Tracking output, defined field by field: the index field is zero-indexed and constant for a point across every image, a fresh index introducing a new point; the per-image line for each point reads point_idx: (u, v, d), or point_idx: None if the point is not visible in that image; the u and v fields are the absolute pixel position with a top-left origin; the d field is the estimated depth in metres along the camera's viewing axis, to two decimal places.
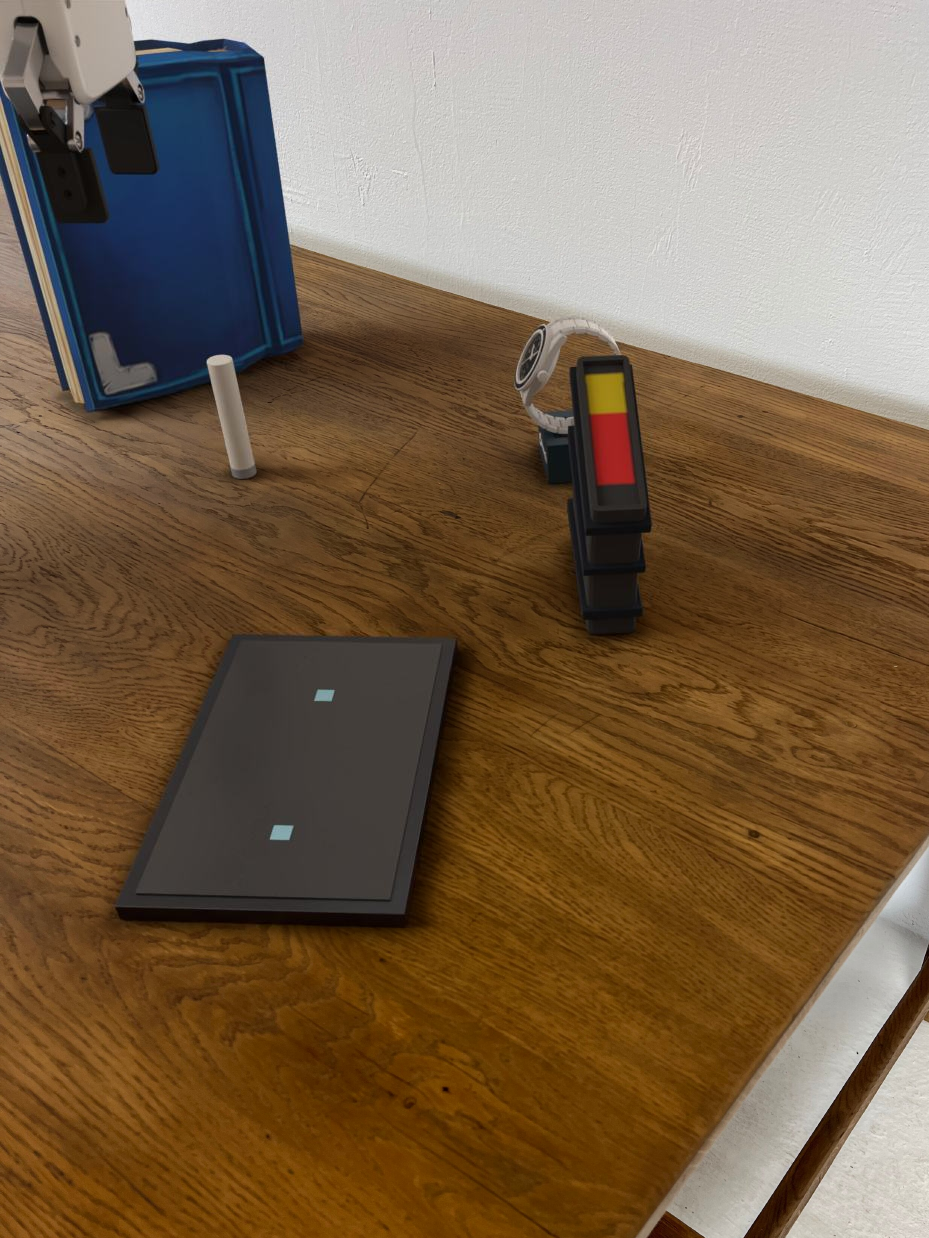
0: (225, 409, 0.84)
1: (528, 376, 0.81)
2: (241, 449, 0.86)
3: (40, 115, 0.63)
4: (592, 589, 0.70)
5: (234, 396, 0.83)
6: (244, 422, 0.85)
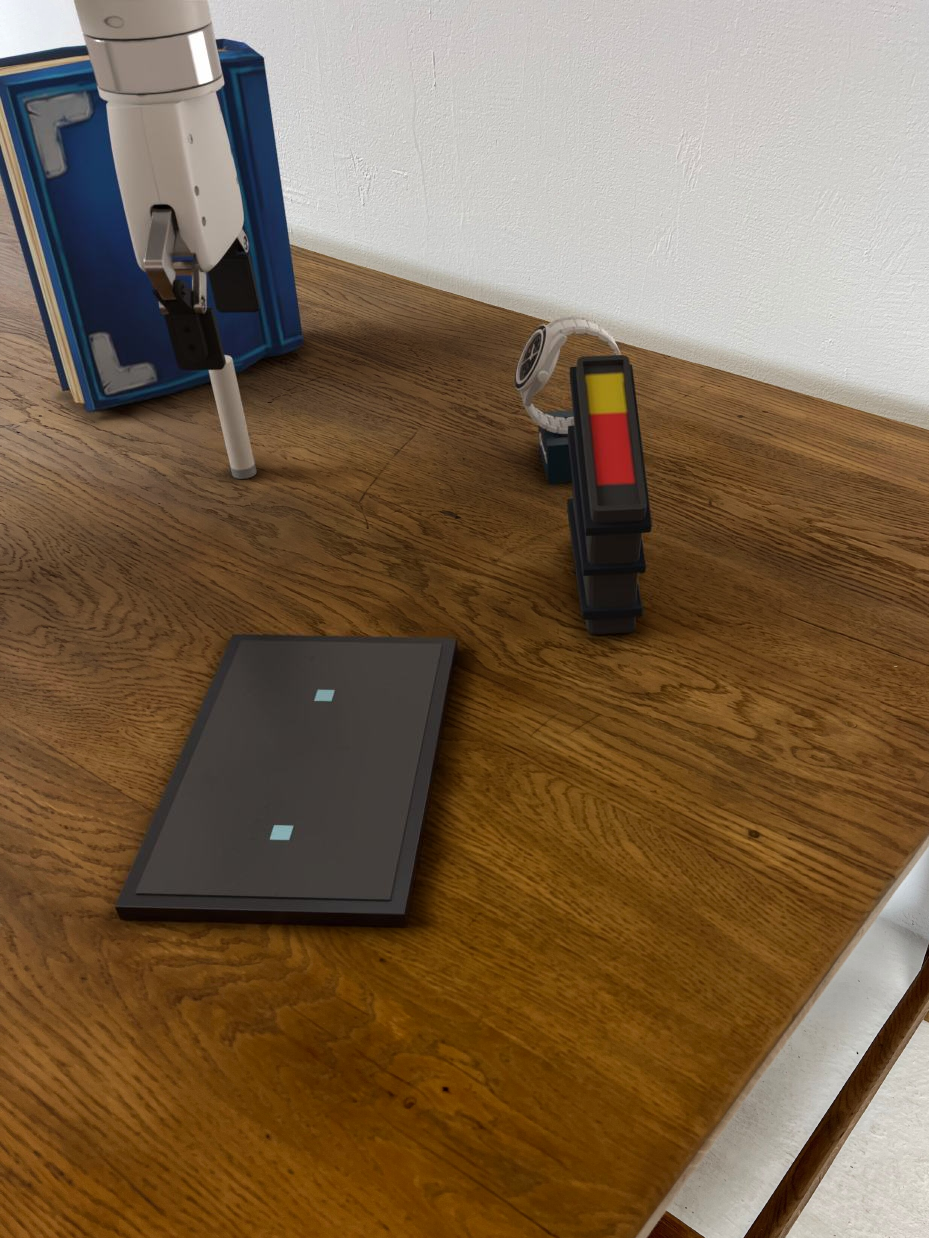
0: (225, 409, 0.84)
1: (528, 376, 0.81)
2: (241, 449, 0.86)
3: (173, 288, 0.71)
4: (592, 589, 0.70)
5: (234, 396, 0.83)
6: (244, 422, 0.85)
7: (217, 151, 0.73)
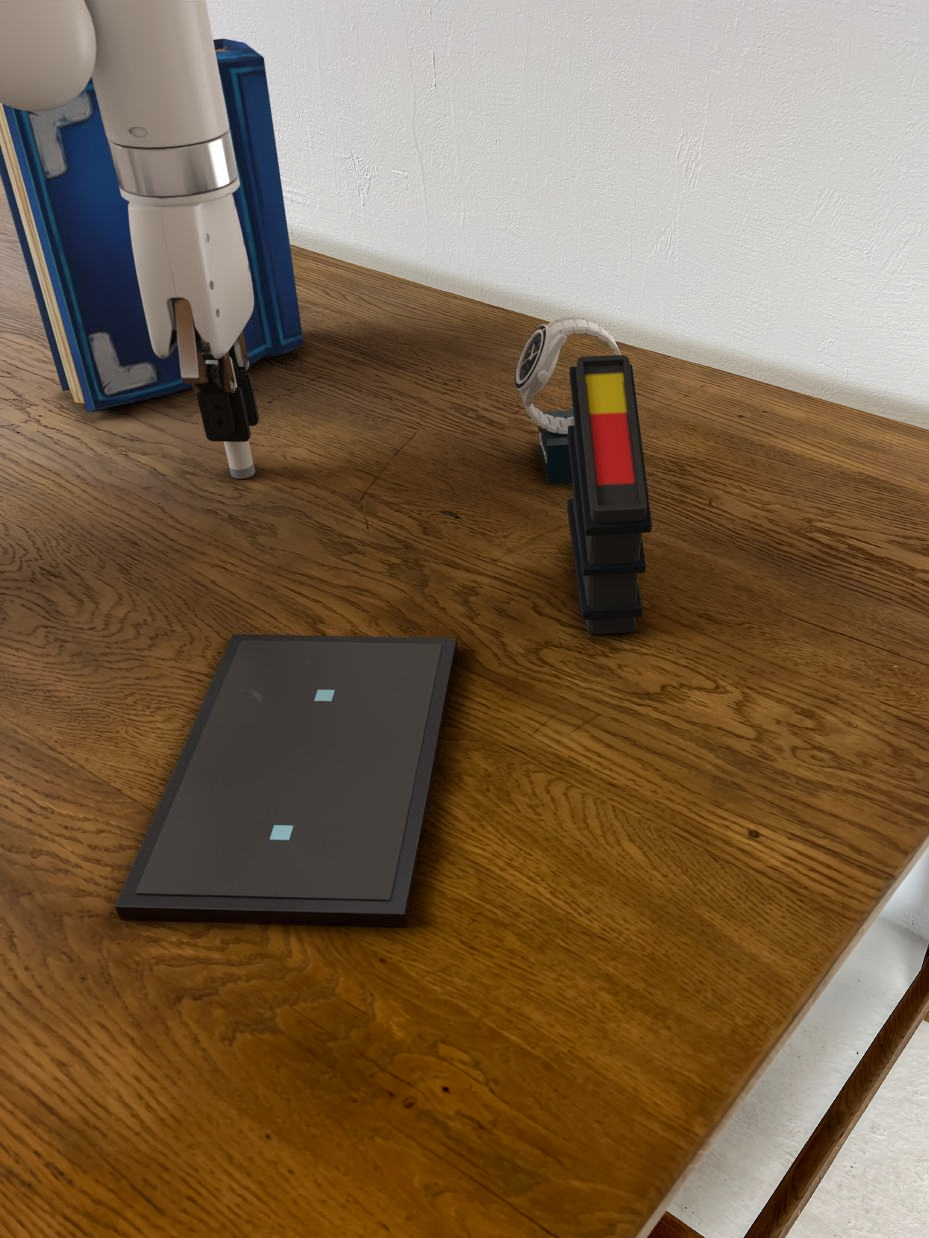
0: None
1: (528, 376, 0.81)
2: (240, 449, 0.86)
3: None
4: (592, 589, 0.70)
5: None
6: None
7: (231, 245, 0.77)
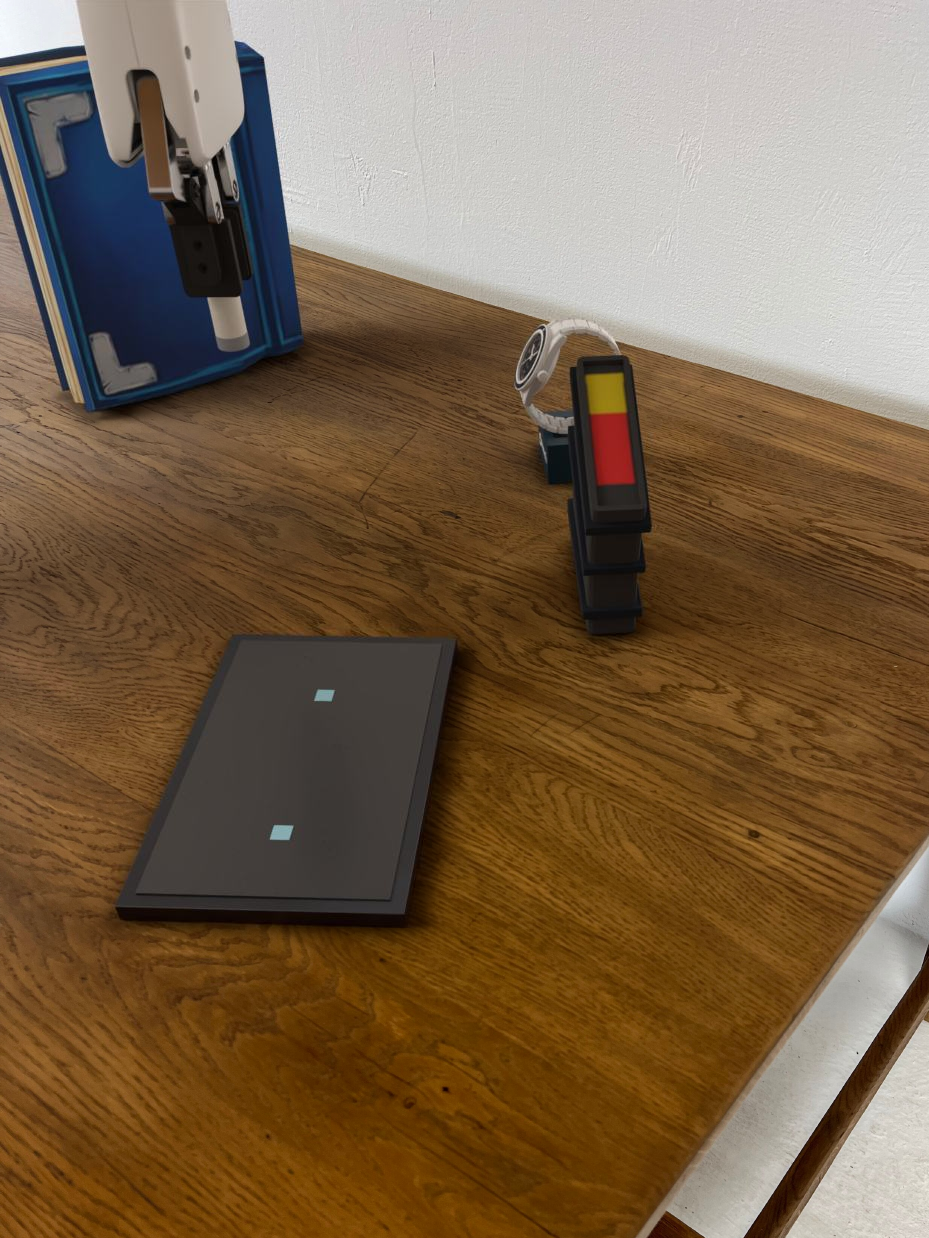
0: None
1: (528, 376, 0.81)
2: (229, 309, 0.65)
3: None
4: (592, 589, 0.70)
5: None
6: None
7: (213, 8, 0.56)
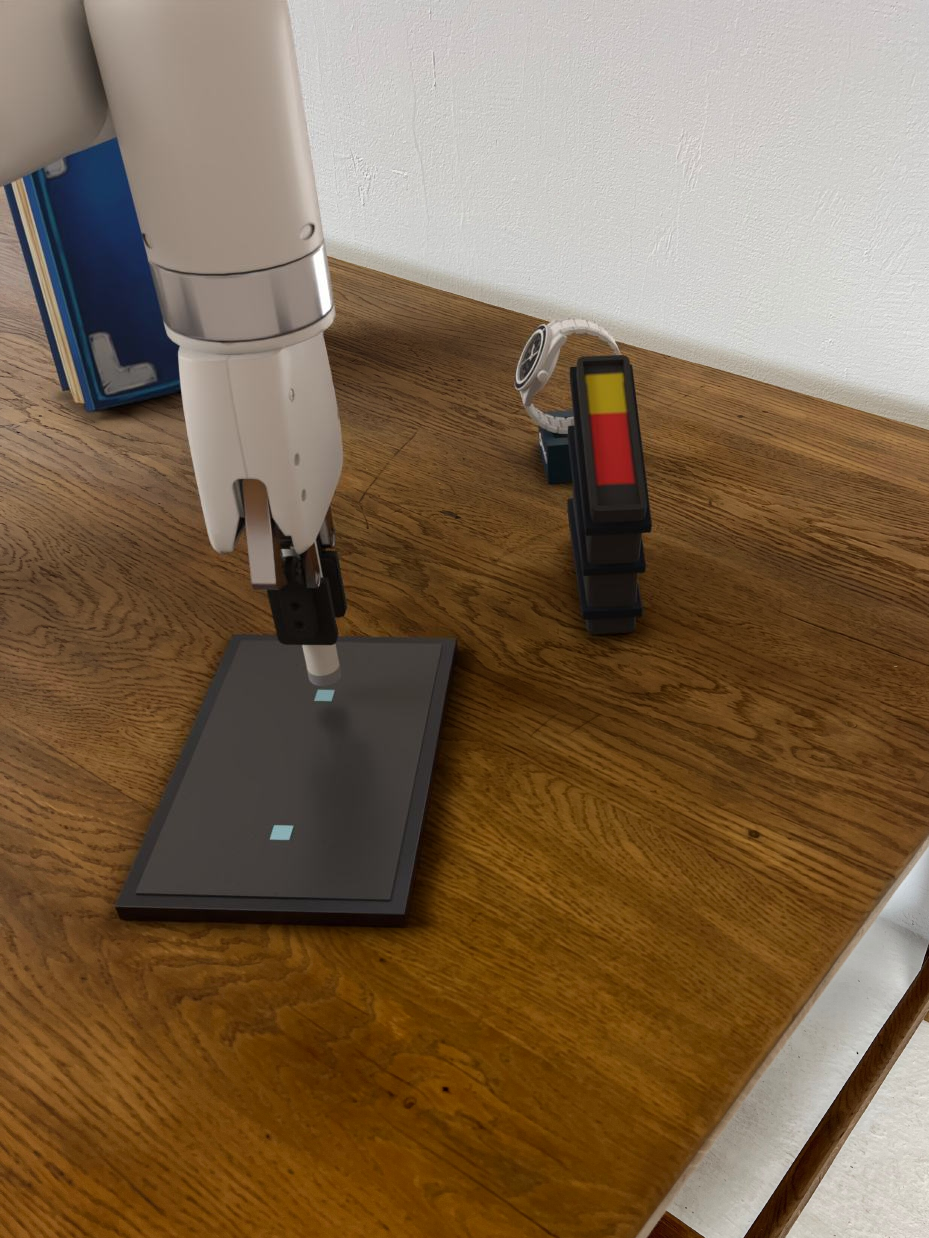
0: None
1: (528, 376, 0.81)
2: (323, 651, 0.63)
3: None
4: (592, 589, 0.70)
5: None
6: None
7: (320, 395, 0.54)
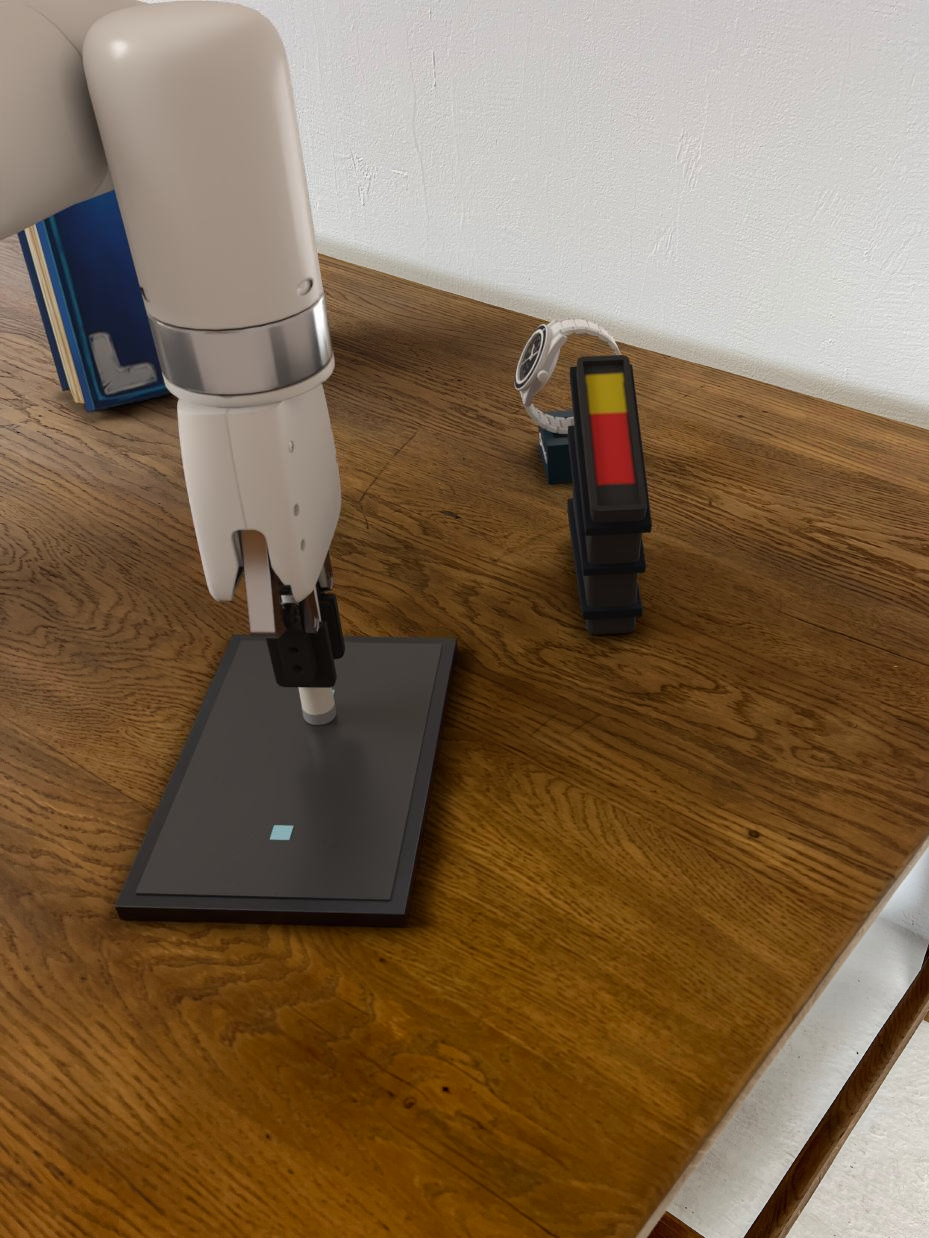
0: None
1: (528, 376, 0.81)
2: (319, 690, 0.63)
3: None
4: (592, 589, 0.70)
5: None
6: None
7: (319, 443, 0.54)
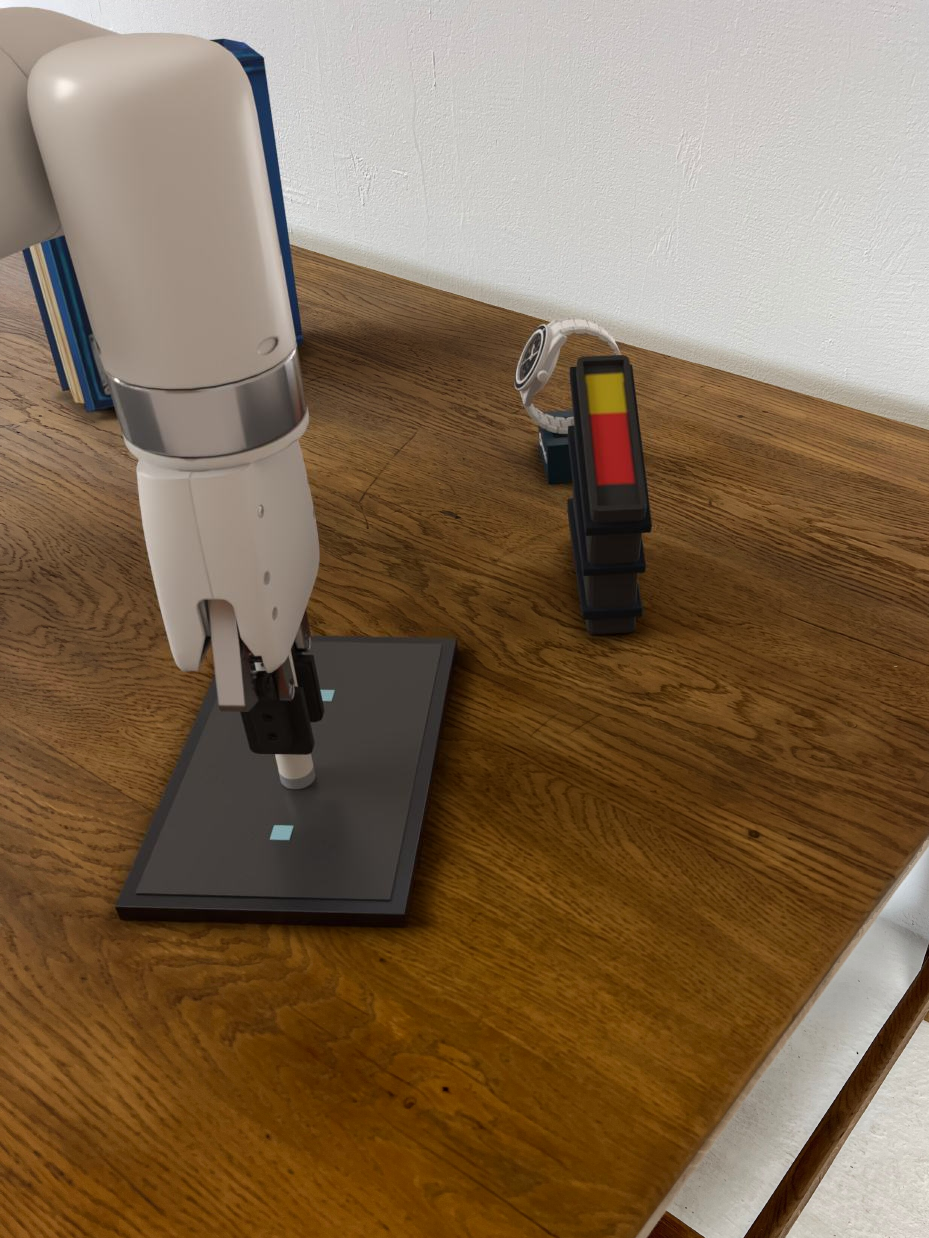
0: None
1: (528, 376, 0.81)
2: None
3: None
4: (592, 589, 0.70)
5: None
6: None
7: (294, 502, 0.50)
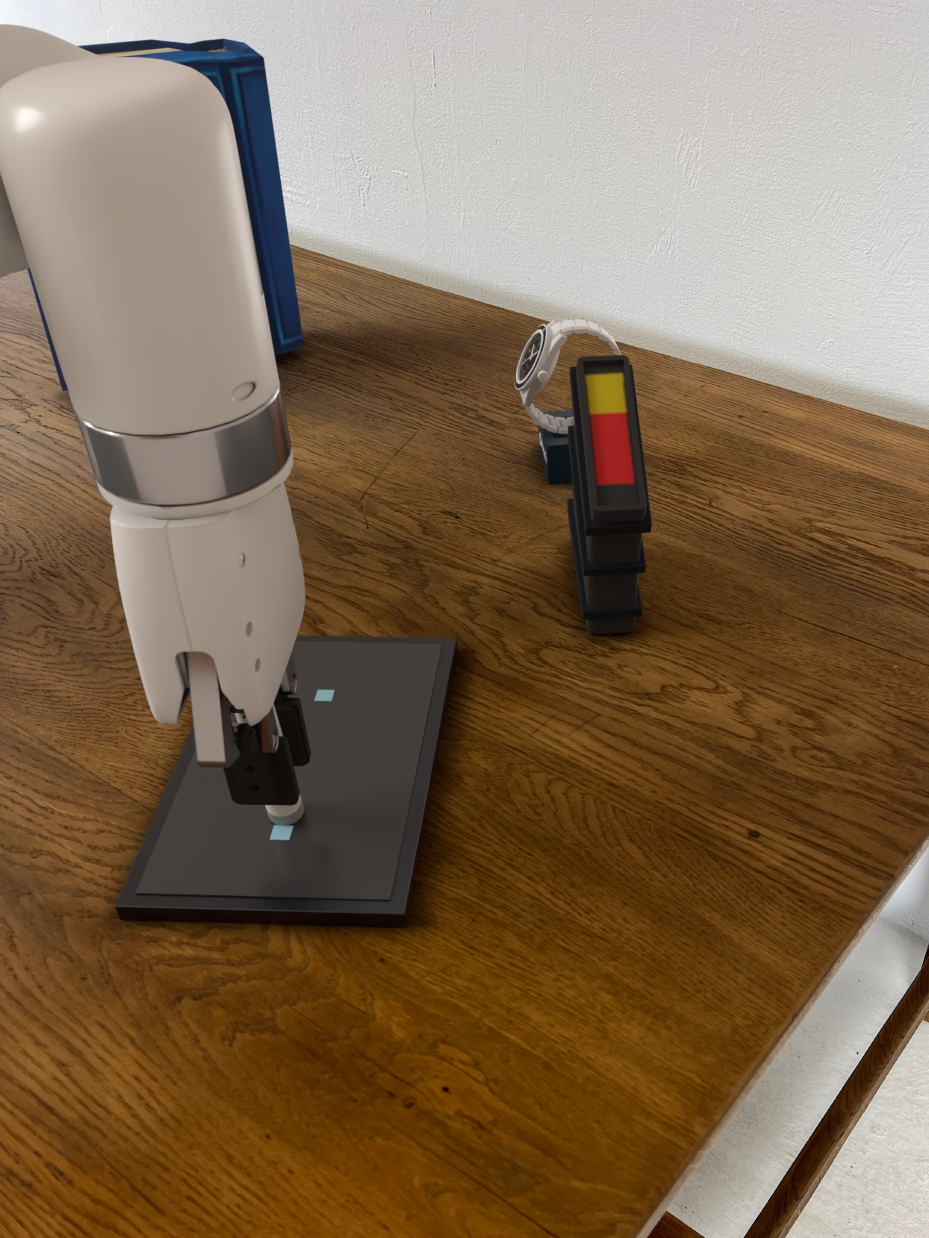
0: None
1: (528, 376, 0.81)
2: None
3: None
4: (592, 589, 0.70)
5: None
6: None
7: (278, 547, 0.48)
